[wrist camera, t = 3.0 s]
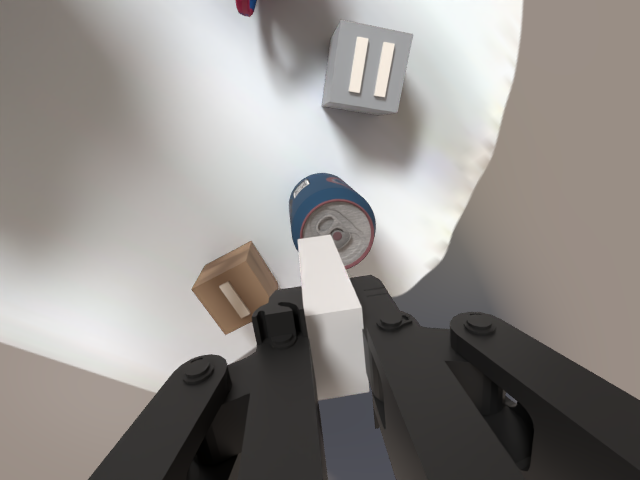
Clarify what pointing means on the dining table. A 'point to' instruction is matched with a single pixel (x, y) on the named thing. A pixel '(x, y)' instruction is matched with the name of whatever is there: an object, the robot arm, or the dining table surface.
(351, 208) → the soda can
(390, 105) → the slate numbered block
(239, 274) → the walnut numbered block
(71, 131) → the dining table surface
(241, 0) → the mug
